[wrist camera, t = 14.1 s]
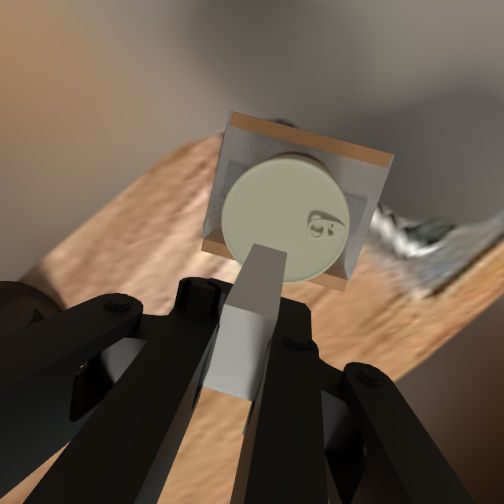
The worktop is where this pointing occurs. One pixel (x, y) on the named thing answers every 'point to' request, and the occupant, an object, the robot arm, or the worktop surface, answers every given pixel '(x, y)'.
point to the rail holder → (321, 147)
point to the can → (288, 214)
